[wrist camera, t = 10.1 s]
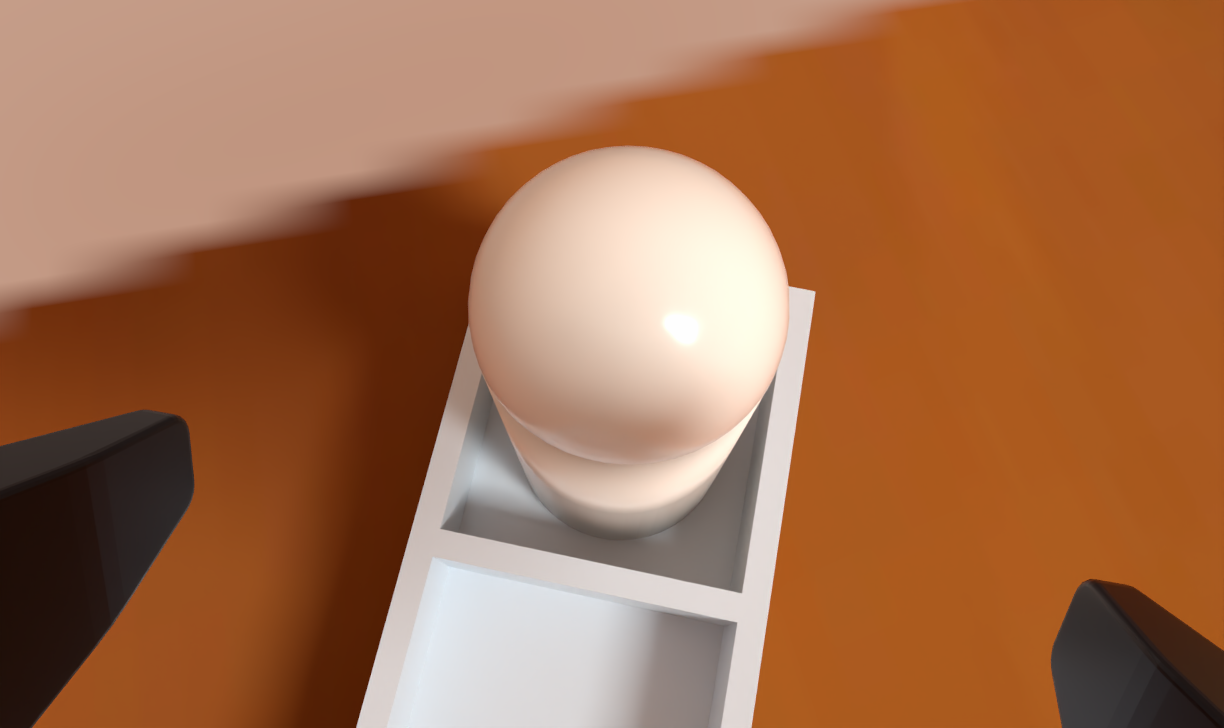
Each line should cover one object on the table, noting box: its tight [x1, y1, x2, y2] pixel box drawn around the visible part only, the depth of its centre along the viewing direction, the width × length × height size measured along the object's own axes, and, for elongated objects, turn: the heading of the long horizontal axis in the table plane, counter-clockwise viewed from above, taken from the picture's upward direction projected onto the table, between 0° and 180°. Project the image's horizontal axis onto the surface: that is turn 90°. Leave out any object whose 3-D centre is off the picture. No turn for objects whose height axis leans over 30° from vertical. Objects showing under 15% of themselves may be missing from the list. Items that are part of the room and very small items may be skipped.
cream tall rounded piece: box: [468, 146, 789, 540], centre depth 17 cm, size 5×5×11 cm
